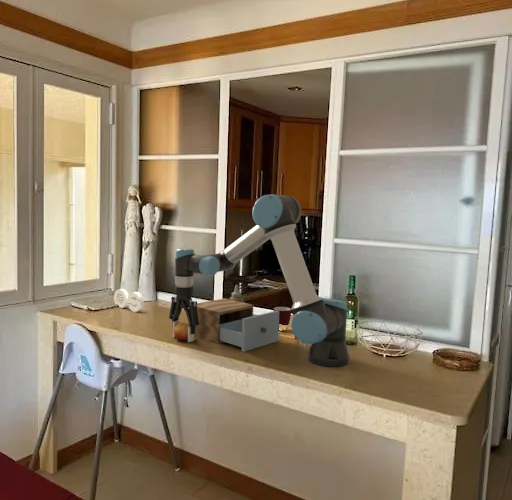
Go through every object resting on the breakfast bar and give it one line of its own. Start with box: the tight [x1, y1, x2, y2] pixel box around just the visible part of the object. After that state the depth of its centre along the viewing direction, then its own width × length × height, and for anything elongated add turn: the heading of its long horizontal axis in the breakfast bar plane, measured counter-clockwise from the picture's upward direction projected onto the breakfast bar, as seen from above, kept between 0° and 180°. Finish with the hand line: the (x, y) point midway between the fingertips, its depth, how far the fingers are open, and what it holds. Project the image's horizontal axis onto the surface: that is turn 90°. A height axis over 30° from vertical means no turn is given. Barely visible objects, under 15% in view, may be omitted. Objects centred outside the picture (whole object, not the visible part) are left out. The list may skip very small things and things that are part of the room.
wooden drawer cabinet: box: [194, 297, 254, 345], centre depth 208 cm, size 18×21×13 cm
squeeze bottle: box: [229, 284, 244, 303], centre depth 230 cm, size 8×8×18 cm
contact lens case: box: [113, 288, 145, 313], centre depth 250 cm, size 22×2×10 cm, turn 52°
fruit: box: [172, 322, 189, 342], centre depth 200 cm, size 8×8×8 cm
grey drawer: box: [219, 311, 280, 353], centre depth 198 cm, size 20×21×13 cm
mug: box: [272, 306, 292, 325], centre depth 217 cm, size 11×8×10 cm
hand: (183, 338), depth 200 cm, fingers open, 9 cm apart
